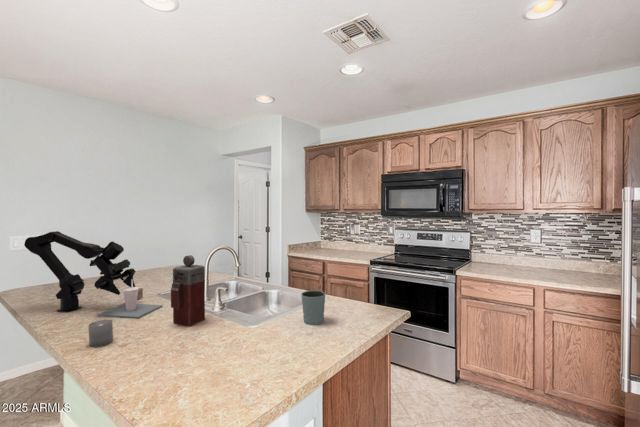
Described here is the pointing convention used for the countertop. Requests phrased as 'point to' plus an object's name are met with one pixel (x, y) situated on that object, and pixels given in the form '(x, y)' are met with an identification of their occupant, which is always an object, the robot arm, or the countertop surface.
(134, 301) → the smoothie
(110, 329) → the grey rounded canister
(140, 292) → the walnut block
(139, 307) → the slate mat
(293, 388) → the countertop surface
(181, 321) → the french press
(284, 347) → the countertop surface
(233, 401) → the countertop surface
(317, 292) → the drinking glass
